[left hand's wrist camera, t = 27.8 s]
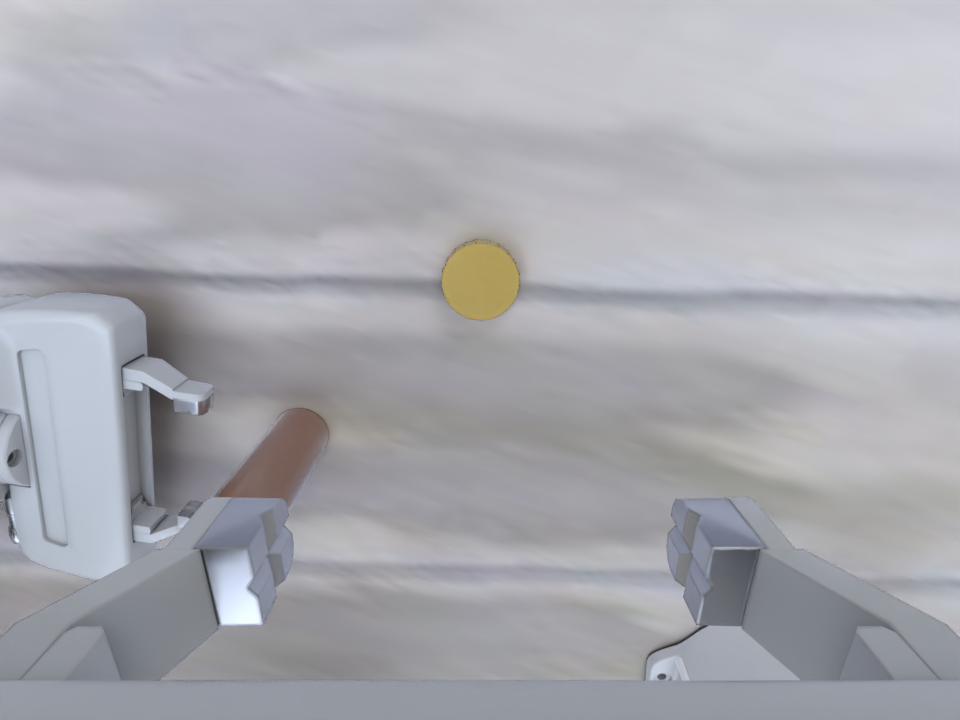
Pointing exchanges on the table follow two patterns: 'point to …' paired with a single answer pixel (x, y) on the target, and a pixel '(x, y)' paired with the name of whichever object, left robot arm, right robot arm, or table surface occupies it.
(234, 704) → the left robot arm
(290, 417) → the brown piece
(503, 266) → the lid
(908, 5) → the table surface
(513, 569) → the table surface
